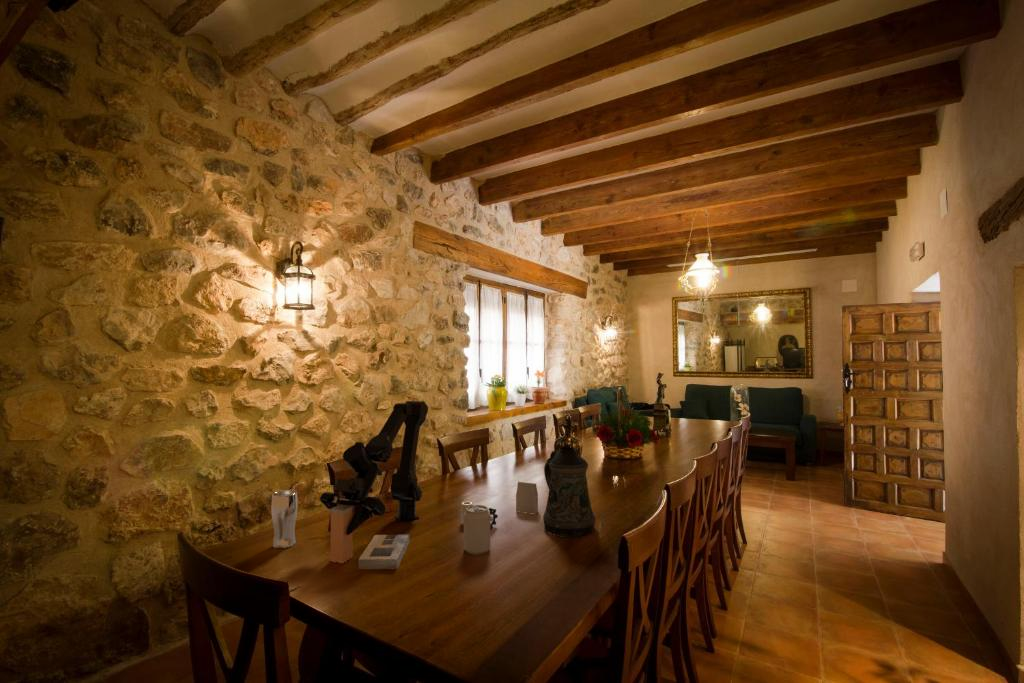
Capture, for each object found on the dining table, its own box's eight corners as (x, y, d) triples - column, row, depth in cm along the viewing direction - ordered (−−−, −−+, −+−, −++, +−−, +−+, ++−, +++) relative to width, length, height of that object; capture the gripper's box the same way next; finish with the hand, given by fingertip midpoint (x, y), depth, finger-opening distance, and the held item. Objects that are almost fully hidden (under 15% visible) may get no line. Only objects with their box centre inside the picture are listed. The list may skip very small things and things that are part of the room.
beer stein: (582, 542, 142) (582, 457, 142) (525, 529, 152) (525, 450, 153) (603, 525, 156) (602, 447, 156) (549, 514, 166) (549, 441, 167)
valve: (455, 525, 156) (485, 532, 150) (455, 504, 156) (485, 511, 150) (468, 519, 162) (497, 526, 155) (468, 499, 162) (497, 505, 156)
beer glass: (302, 541, 143) (303, 490, 143) (284, 551, 136) (285, 497, 136) (284, 538, 145) (284, 488, 145) (265, 547, 138) (265, 495, 139)
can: (469, 558, 131) (469, 513, 132) (459, 548, 138) (459, 505, 138) (494, 552, 135) (494, 509, 135) (483, 543, 142) (483, 502, 142)
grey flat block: (374, 543, 141) (374, 534, 141) (409, 543, 142) (409, 534, 142) (358, 569, 125) (358, 559, 125) (397, 568, 125) (397, 558, 125)
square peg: (340, 555, 133) (340, 504, 134) (352, 557, 132) (352, 505, 132) (330, 561, 129) (330, 509, 130) (342, 563, 128) (343, 510, 128)
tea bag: (534, 514, 166) (534, 485, 166) (516, 511, 169) (516, 483, 169) (537, 511, 170) (537, 482, 170) (520, 508, 172) (520, 480, 172)
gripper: (323, 463, 138) (294, 514, 127) (379, 468, 132) (354, 523, 121) (341, 483, 145) (315, 534, 135) (395, 489, 139) (372, 542, 129)
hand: (338, 533), depth 130 cm, fingers open, 5 cm apart
